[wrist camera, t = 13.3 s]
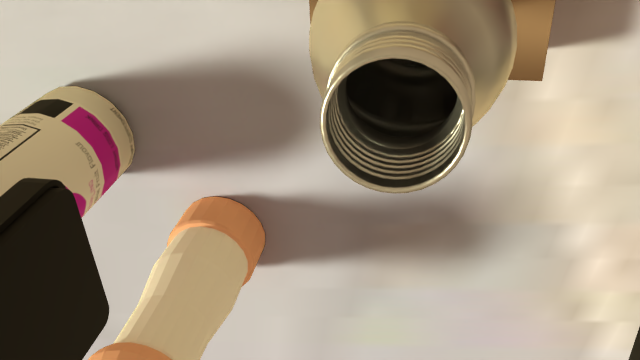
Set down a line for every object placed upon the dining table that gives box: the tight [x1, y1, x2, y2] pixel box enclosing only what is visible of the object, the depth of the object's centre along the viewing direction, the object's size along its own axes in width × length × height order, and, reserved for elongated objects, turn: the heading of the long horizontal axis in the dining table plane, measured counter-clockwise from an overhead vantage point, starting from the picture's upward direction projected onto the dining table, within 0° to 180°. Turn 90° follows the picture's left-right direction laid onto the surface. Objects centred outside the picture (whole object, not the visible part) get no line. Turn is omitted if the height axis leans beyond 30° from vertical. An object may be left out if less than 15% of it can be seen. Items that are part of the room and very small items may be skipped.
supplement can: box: [0, 86, 135, 218], centre depth 41 cm, size 8×8×15 cm
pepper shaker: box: [88, 196, 265, 360], centre depth 42 cm, size 7×7×19 cm
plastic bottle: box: [309, 0, 517, 193], centre depth 22 cm, size 6×7×20 cm
